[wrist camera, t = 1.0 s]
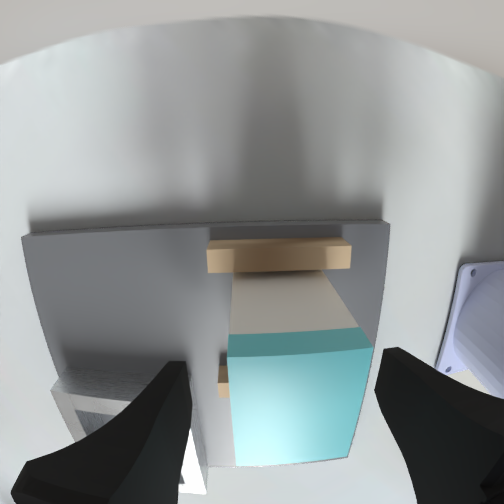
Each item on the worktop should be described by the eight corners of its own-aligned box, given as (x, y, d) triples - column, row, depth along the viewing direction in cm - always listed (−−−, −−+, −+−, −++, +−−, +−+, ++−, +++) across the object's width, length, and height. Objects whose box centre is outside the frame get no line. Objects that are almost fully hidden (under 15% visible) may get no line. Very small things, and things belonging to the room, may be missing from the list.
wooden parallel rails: (341, 237, 15) (351, 245, 13) (328, 374, 17) (335, 390, 15) (210, 240, 15) (206, 249, 13) (220, 379, 17) (219, 397, 15)
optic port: (191, 374, 17) (185, 405, 14) (208, 466, 19) (206, 493, 17) (67, 365, 16) (50, 390, 14) (106, 456, 19) (97, 480, 17)
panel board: (382, 219, 16) (390, 224, 15) (344, 448, 20) (347, 457, 19) (30, 232, 15) (20, 237, 14) (98, 445, 20) (94, 454, 19)
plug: (319, 266, 15) (373, 347, 8) (313, 355, 17) (347, 456, 10) (233, 269, 15) (226, 357, 8) (237, 359, 16) (236, 466, 10)
